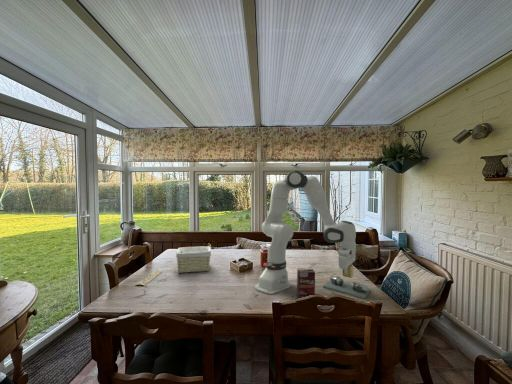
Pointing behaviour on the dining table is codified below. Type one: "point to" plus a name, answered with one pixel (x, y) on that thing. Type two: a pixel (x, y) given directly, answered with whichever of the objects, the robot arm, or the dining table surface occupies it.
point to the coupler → (349, 272)
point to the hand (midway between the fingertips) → (347, 272)
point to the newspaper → (150, 277)
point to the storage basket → (193, 259)
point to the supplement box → (305, 282)
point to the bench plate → (346, 289)
